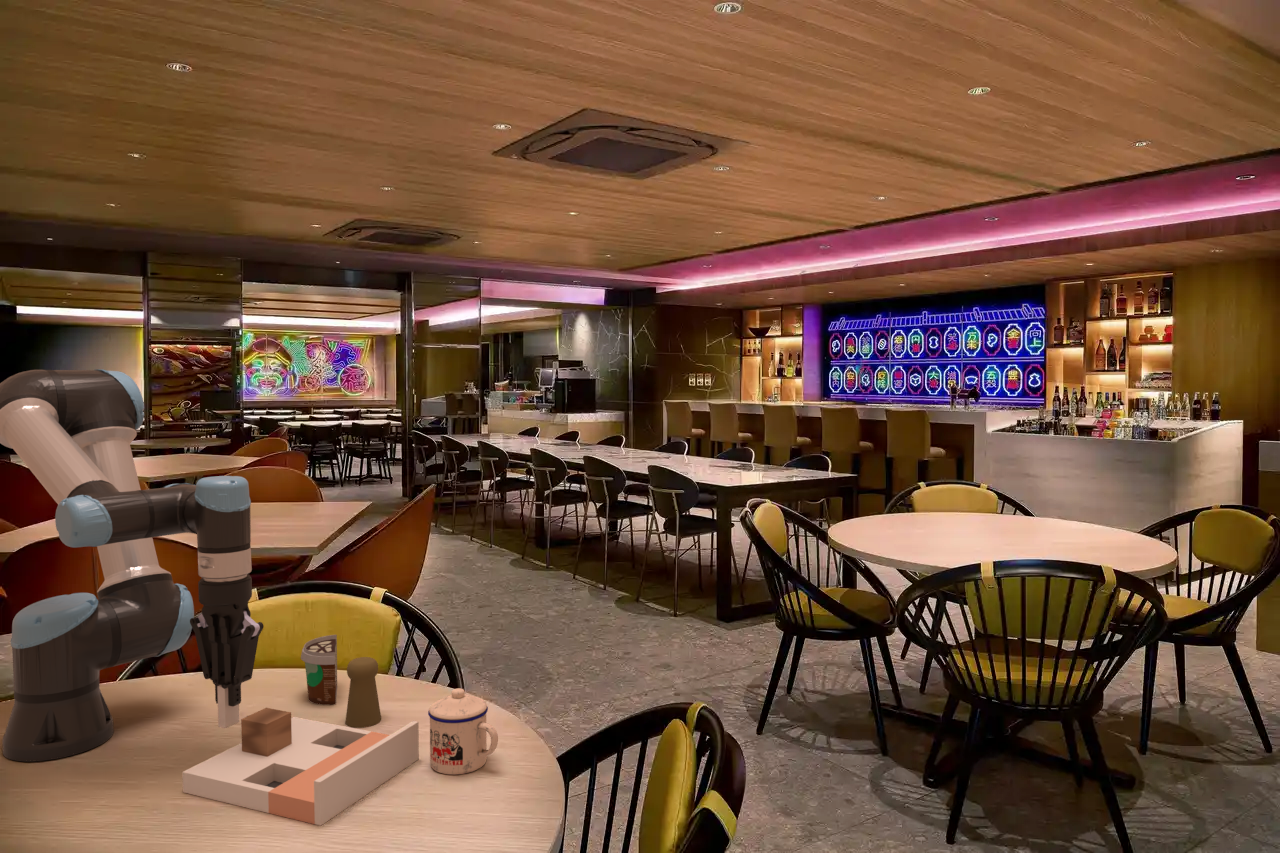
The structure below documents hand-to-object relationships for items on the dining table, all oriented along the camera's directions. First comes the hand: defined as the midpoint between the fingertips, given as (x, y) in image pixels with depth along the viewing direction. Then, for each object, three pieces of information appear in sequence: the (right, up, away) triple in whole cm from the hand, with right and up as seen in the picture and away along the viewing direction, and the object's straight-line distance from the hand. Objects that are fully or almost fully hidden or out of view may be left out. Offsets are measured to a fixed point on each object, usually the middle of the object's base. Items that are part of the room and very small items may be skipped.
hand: (228, 724), depth 138 cm
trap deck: (+14, -6, -5) cm, 16 cm away
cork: (+16, -5, +15) cm, 23 cm away
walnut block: (+7, -3, -3) cm, 8 cm away
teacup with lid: (+38, -6, -2) cm, 38 cm away
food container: (+5, -4, +26) cm, 27 cm away
